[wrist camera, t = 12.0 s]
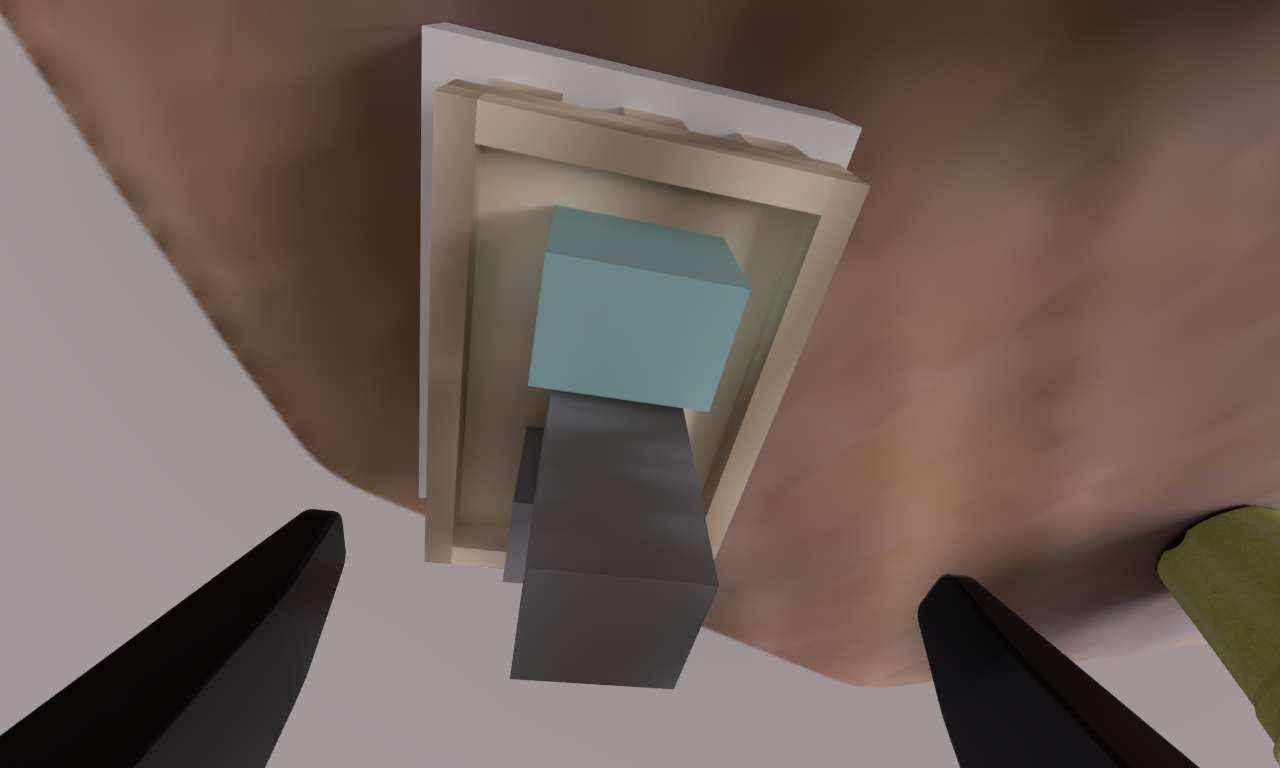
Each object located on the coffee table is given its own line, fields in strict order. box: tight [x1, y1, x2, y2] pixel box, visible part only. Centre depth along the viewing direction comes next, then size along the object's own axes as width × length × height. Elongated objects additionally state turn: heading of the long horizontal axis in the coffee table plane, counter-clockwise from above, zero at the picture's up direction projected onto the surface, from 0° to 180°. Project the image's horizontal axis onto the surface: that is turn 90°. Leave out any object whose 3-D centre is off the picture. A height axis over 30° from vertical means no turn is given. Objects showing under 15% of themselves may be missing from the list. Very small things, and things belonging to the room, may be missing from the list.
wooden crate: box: [425, 79, 870, 689], centre depth 14 cm, size 9×13×10 cm
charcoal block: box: [503, 427, 544, 583], centre depth 16 cm, size 4×3×3 cm
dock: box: [419, 22, 862, 498], centre depth 19 cm, size 11×15×2 cm
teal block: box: [528, 205, 751, 412], centre depth 13 cm, size 4×3×3 cm
